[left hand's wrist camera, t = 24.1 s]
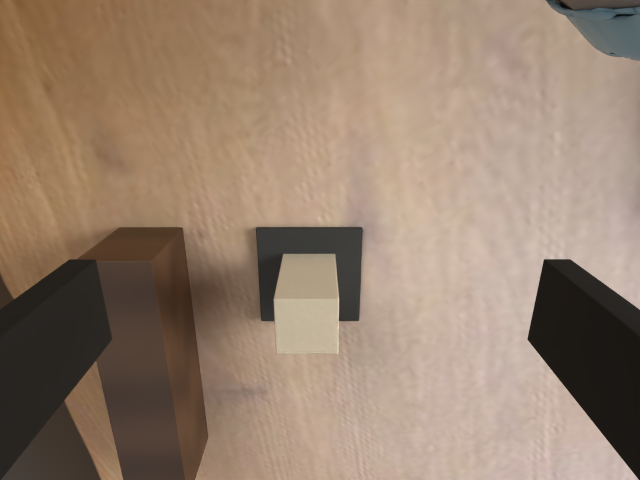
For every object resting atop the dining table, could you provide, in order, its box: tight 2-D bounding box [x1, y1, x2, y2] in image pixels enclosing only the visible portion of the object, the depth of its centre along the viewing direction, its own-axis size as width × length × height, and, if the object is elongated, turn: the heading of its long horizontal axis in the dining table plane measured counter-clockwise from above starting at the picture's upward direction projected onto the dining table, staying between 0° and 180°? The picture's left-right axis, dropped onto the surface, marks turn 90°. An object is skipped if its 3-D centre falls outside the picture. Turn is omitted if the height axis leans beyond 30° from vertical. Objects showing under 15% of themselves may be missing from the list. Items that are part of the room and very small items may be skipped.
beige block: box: [274, 254, 339, 354], centre depth 37 cm, size 5×5×9 cm
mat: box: [256, 227, 363, 321], centre depth 42 cm, size 10×10×1 cm
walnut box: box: [78, 228, 208, 480], centre depth 41 cm, size 26×6×8 cm, turn 0°
